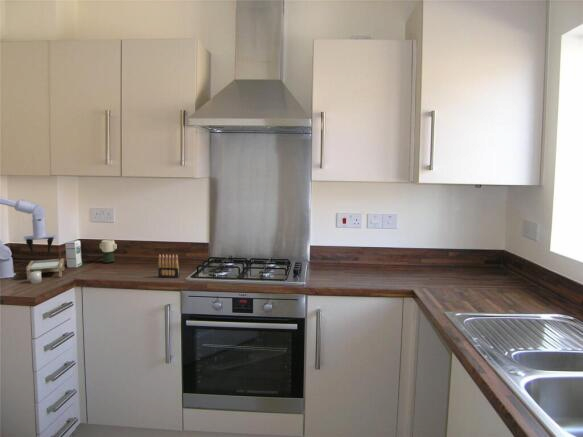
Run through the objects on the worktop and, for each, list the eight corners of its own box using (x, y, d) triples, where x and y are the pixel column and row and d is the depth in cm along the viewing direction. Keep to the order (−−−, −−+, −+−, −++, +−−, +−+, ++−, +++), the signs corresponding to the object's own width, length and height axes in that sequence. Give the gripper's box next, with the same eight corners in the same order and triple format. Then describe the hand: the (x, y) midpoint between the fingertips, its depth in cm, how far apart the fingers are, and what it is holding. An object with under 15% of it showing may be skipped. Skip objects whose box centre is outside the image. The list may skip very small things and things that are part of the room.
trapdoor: (34, 264, 227) (34, 260, 227) (60, 262, 232) (60, 258, 232) (30, 269, 215) (30, 265, 215) (57, 267, 220) (57, 263, 220)
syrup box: (77, 267, 241) (75, 241, 239) (66, 267, 241) (65, 241, 240) (82, 265, 247) (80, 240, 245) (72, 265, 247) (70, 240, 245)
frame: (27, 280, 215) (26, 267, 214) (32, 272, 229) (31, 260, 228) (61, 276, 220) (60, 264, 220) (64, 270, 235) (63, 258, 234)
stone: (29, 283, 208) (28, 273, 207) (31, 281, 212) (30, 271, 211) (40, 282, 210) (40, 272, 209) (42, 280, 214) (41, 270, 213)
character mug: (120, 261, 256) (119, 239, 255) (113, 264, 249) (112, 241, 248) (104, 260, 258) (103, 239, 257) (96, 263, 251) (95, 241, 250)
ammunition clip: (158, 277, 220) (157, 254, 218) (159, 276, 221) (158, 253, 220) (178, 277, 218) (177, 254, 217) (179, 277, 220) (179, 253, 219)
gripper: (21, 229, 222) (23, 255, 223) (53, 227, 227) (55, 253, 229) (24, 227, 228) (26, 252, 230) (55, 226, 234) (56, 250, 235)
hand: (40, 252), depth 230 cm, fingers open, 7 cm apart
